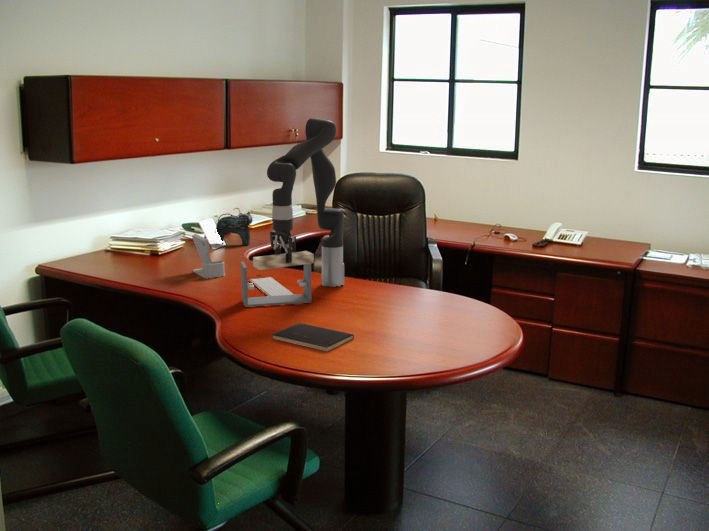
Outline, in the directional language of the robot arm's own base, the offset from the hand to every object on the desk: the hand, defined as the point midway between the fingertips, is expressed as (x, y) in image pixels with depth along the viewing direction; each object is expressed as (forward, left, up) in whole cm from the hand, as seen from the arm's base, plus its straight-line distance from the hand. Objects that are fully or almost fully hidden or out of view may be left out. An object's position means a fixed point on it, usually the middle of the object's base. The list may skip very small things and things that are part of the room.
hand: (283, 260), depth 288 cm
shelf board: (0, 0, -1) cm, 1 cm away
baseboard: (+1, -37, -21) cm, 43 cm away
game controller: (+6, -130, -21) cm, 132 cm away
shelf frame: (+1, -16, -20) cm, 26 cm away
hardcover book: (-5, +31, -21) cm, 38 cm away
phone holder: (+23, -69, -21) cm, 76 cm away
